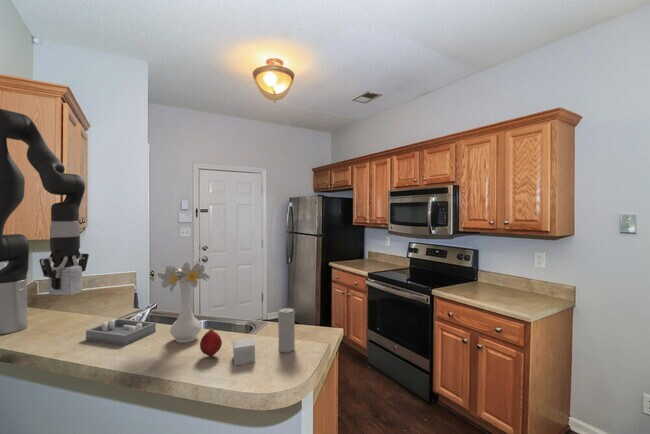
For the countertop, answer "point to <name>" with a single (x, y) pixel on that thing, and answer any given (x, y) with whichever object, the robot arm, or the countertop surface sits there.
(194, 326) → the flower vase
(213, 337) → the onion
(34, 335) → the countertop surface
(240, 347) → the small box
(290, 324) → the beverage can
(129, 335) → the tray
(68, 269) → the medicine box
